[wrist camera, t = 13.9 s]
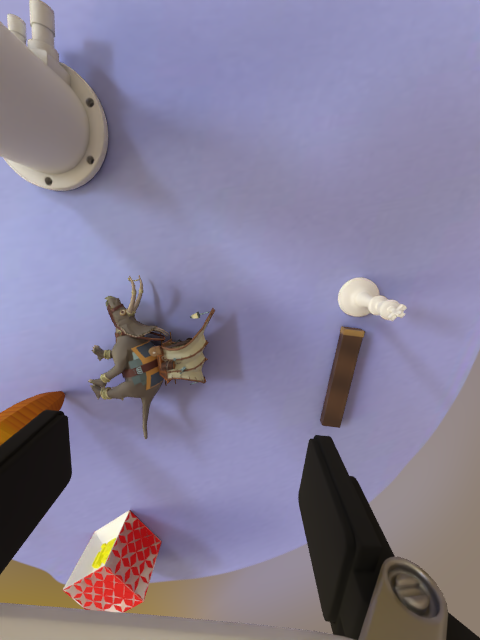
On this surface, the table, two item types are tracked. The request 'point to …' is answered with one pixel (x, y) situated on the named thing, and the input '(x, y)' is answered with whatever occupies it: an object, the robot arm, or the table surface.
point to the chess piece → (367, 300)
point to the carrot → (27, 412)
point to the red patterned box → (115, 566)
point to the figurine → (146, 356)
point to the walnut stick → (341, 376)
